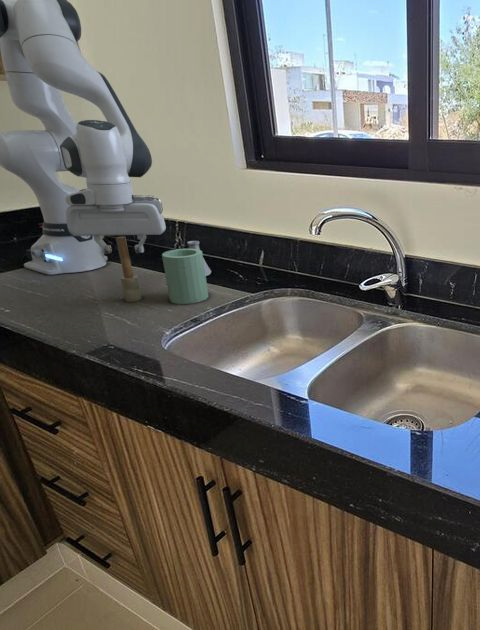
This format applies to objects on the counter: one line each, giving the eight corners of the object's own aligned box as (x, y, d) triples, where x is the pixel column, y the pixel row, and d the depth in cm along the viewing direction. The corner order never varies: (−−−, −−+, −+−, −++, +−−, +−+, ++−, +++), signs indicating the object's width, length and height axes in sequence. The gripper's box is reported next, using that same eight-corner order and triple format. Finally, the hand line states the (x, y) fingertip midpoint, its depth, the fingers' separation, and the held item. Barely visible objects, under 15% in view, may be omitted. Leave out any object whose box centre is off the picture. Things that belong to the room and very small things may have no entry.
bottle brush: (122, 300, 119) (108, 238, 113) (133, 296, 122) (121, 235, 116) (133, 302, 118) (120, 239, 112) (145, 298, 121) (132, 236, 115)
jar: (162, 301, 120) (153, 255, 115) (188, 290, 128) (181, 247, 123) (191, 306, 117) (183, 259, 113) (215, 294, 125) (209, 250, 121)
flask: (215, 272, 144) (211, 239, 140) (203, 279, 137) (198, 245, 133) (193, 270, 144) (188, 238, 141) (179, 277, 138) (174, 244, 134)
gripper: (163, 193, 116) (173, 248, 121) (69, 193, 111) (83, 250, 116) (156, 197, 110) (166, 255, 115) (56, 197, 106) (71, 257, 111)
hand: (123, 252), depth 116 cm, fingers open, 6 cm apart
